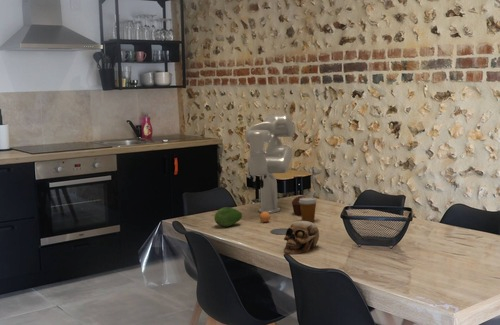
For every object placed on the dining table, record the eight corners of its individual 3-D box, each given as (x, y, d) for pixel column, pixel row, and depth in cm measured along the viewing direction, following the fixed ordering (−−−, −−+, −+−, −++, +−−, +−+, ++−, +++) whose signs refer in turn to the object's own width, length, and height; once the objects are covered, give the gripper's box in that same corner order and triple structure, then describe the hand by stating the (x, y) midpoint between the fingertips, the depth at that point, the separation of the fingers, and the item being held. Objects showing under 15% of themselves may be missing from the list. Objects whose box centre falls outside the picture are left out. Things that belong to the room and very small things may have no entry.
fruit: (238, 222, 338) (237, 203, 337) (246, 225, 330) (245, 207, 328) (212, 225, 332) (211, 207, 331) (219, 229, 323) (218, 210, 322)
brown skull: (283, 254, 273) (283, 223, 273) (284, 247, 290) (284, 218, 290) (319, 255, 272) (320, 224, 272) (318, 248, 289) (318, 219, 289)
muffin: (288, 213, 355) (287, 196, 354) (305, 211, 359) (304, 194, 358) (298, 217, 344) (298, 199, 343) (316, 214, 349) (315, 197, 347)
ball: (258, 221, 338) (258, 211, 337) (268, 220, 340) (267, 210, 339) (262, 223, 333) (261, 213, 332) (272, 222, 335) (271, 212, 334)
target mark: (266, 230, 317) (266, 230, 317) (288, 227, 321) (288, 227, 321) (275, 235, 306) (275, 235, 306) (298, 232, 310) (298, 232, 310)
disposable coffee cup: (318, 222, 330) (317, 200, 328) (299, 223, 330) (299, 200, 328) (316, 218, 339) (315, 196, 338) (298, 219, 339) (298, 197, 338)
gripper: (268, 152, 346) (269, 185, 349) (240, 154, 341) (241, 188, 343) (273, 154, 339) (274, 187, 342) (244, 156, 334) (246, 190, 336)
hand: (258, 187), depth 342 cm, fingers open, 3 cm apart
